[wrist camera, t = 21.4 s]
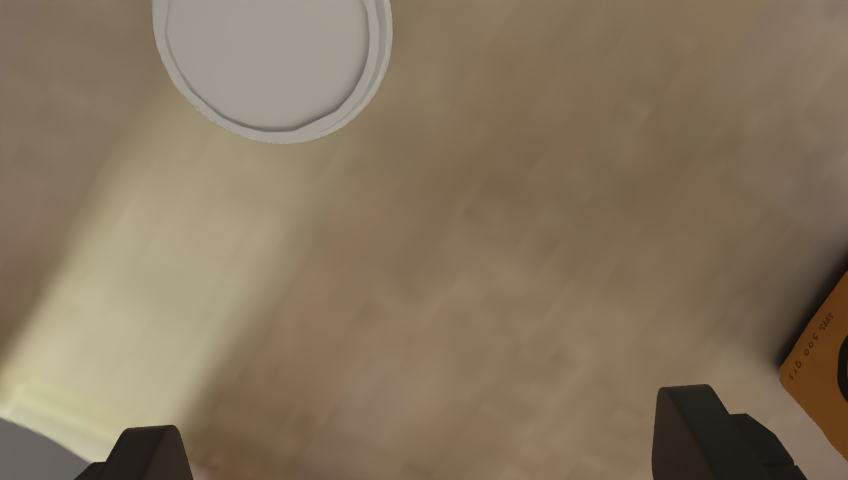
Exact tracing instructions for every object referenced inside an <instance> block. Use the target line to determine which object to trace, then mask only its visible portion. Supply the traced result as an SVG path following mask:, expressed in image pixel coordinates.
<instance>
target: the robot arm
mask: <svg viewBox="0 0 848 480" xmlns="http://www.w3.org/2000/svg"><path fill="white" fill-rule="evenodd" d="M652 473H653V479H654V480H807V478H806V477H805V476H804V474H803V473H802V471H801V470H800V469H799V467H798V466H797V465H796V466H795V465H794V462H793V459H792V457H791V456H790V455H789V453H788V452H787V451H786V449H785V448H784V446H783V445H782V444H781V442H780V441H779V439H778V438H777V437H776V435H775V434H774V433H772V432H771V431H770V430H768V429H767V428H766V427H764V426H763V425H761V424H760V423H759V422H757V421H756V420H755V419H753V418H752V417H751V416H749V415H748V414H746V413H745V414H731V415H730V414H729V413H728V411H727V410H726V408H725V407H724V405H723V404H722V402H721V401H720V399H719V398H718V396H717V395H716V393H715V391H714V390H713V389H712V388H711V387H710V386H709V385H707V384H701V385H687V386H673V387H662V388H660V389H659V391H658V395H657V403H656V414H655V425H654V437H653V448H652ZM74 480H193V477H192V473H191V470H190V466H189V463H188V459H187V456H186V453H185V449H184V446H183V442H182V439H181V435H180V433H179V430H178V429H177V427H176V426H174V425H162V426H148V427H135V428H127V429H126V430H124V431H123V432H122V434H121V435H120V437H119V439H118V440H117V442H116V444H115V446H114V448H113V449H112V451H111V453H110V455H109V457H108V458H107V460H106V462H94V463H92V464H91V465H90V466H88V467H87V468H86V469H85V470H84V471H83V472H82V473H81V474H80V475H79V476H77V477H76V478H75V479H74Z"/></svg>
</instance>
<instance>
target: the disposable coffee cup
mask: <svg viewBox="0 0 848 480" xmlns="http://www.w3.org/2000/svg"><path fill="white" fill-rule="evenodd" d="M151 13H152V27H153V32H154V38H155V42H156V45H157V48H158V51H159V54H160V57H161V59H162V62H163V64H164V66H165V68H166V70H167V72H168V74H169V76H170V77H171V79H172V81H173V83H174V85H175V86H176V87H177V88H178V89H179V91H180V92H181V93H182V94H183V96H184V97H185V98H186V99H187V100H188V101H189V103H190V104H191V105H192V106H193V107H194V108H195V109H197V110H198V111H199V112H200V113H201V114H203V115H204V116H205V117H207V118H208V119H209V120H210V121H212V122H214V123H216V124H217V125H219V126H220V127H221V128H224V129H226V130H228V131H230V132H232V133H235V134H237V135H239V136H241V137H244V138H248V139H252V140H256V141H259V142H265V143H276V144H291V143H300V142H307V141H310V140H314V139H318V138H321V137H323V136H325V135H328V134H330V133H332V132H334V131H336V130H338V129H340V128H341V127H343V126H344V125H346V124H347V123H349V122H350V121H351V120H352V119H353V118H355V117H356V116H357V115H358V114H359V113H360V112H361V111H362V110H363V109H364V108H365V107H366V105H367V104H368V103H369V102H370V100H371V99H372V98H373V96H374V95H375V93H376V91H377V90H378V88H379V86H380V84H381V82H382V79H383V77H384V75H385V73H386V70H387V66H388V62H389V58H390V54H391V49H392V38H393V24H392V14H391V5H390V1H389V0H151Z"/></svg>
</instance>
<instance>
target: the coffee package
mask: <svg viewBox="0 0 848 480" xmlns="http://www.w3.org/2000/svg"><path fill="white" fill-rule="evenodd" d="M779 373H780V382H781V384H782V386H783V387H784V388H785V390H786V391H787V392H788V393H789V394H790V395H791V396H792V397H793V398H794V399H795V400H796V401H797V403H798V404H799V405H800V406H801V407H802V408H803V409H804V411H805V412H806V413H807V414H808V415H809V416H810V417H811V418H812V420H813V421H814V422H815V423H816V424H817V425H818V426H819V427H820V429H821V430H822V431H823V433H824V434H825V436H826V437H827V439H828V440H829V441H830V443H831V444H832V445H833V446H834V448H835V449H836V450H837V451H838V452H839V453H840V454H841V455H842V456H843V457H844V458H845V459H846V460H847V462H848V270H847V272H846V273H845V274H844V276H843V277H842V278H841V279H840V281H839V282H838V283H837V285H836V287H835V288H834V290H833V291H832V292H831V294H830V295H829V296H828V298H827V299H826V300H825V302H824V303H823V304H822V306H821V307H820V308H819V310H818V311H817V312H816V314H815V315H814V317H813V318H812V319H811V321H810V322H809V323H808V325H807V327H806V328H805V330H804V331H803V333H802V334H801V336H800V337H799V339H798V341H797V342H796V344H795V346H794V348H793V350H792V351H791V353H790V354H789V356H788V357H787V359H786V360H785V361H784V363H783V364H782V365H781V367H780V369H779Z"/></svg>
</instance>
